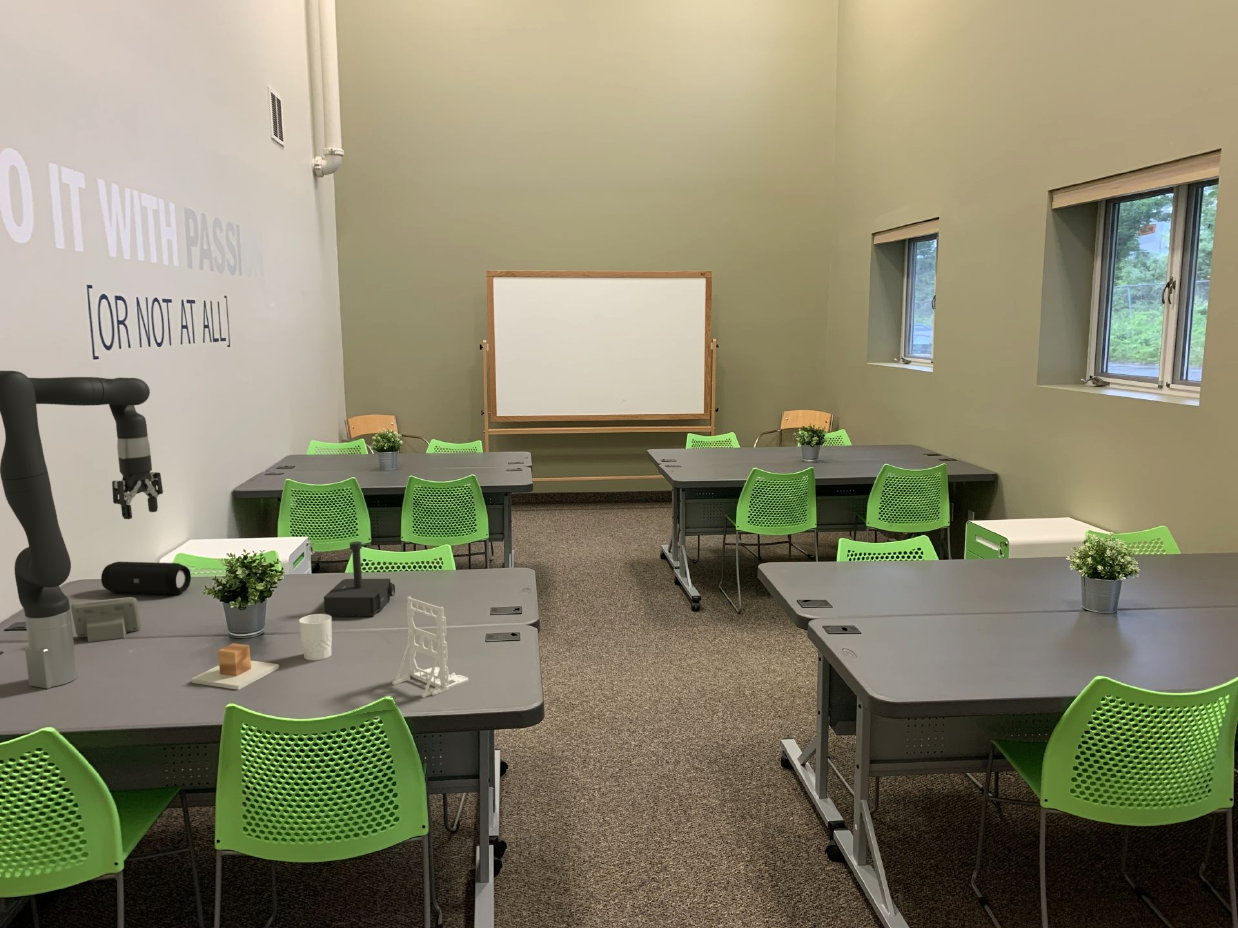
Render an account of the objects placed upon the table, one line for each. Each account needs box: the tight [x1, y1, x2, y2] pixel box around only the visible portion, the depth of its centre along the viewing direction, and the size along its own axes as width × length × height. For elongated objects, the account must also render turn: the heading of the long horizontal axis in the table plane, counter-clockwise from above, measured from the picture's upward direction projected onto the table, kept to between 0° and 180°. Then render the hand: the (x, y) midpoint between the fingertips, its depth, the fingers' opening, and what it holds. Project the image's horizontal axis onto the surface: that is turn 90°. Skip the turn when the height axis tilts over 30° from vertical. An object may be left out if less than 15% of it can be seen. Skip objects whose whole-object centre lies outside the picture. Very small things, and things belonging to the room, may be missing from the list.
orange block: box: [217, 643, 252, 676], centre depth 225 cm, size 5×5×6 cm
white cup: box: [298, 613, 333, 661], centre depth 237 cm, size 8×8×10 cm
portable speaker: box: [100, 561, 192, 596], centre depth 294 cm, size 26×10×10 cm, turn 82°
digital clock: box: [70, 596, 142, 643], centre depth 254 cm, size 16×9×11 cm, turn 99°
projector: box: [323, 541, 396, 618], centre depth 276 cm, size 19×17×20 cm
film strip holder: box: [391, 596, 469, 698], centre depth 218 cm, size 14×14×20 cm
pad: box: [191, 660, 280, 690], centre depth 225 cm, size 14×14×1 cm
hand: (140, 515), depth 243 cm, fingers open, 8 cm apart
